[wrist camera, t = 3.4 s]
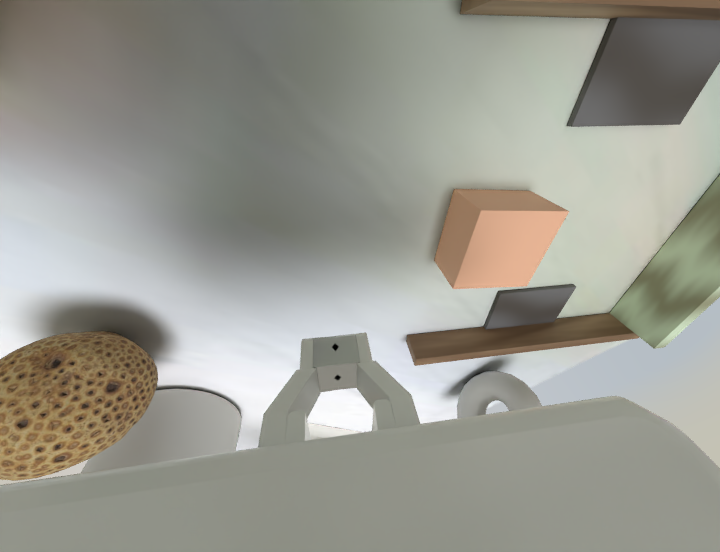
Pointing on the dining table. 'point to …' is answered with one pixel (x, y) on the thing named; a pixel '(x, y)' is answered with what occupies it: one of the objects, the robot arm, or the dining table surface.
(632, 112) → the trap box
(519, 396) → the donut
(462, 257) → the terracotta block
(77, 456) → the natural sponge
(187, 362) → the dining table surface
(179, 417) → the cylinder vase
